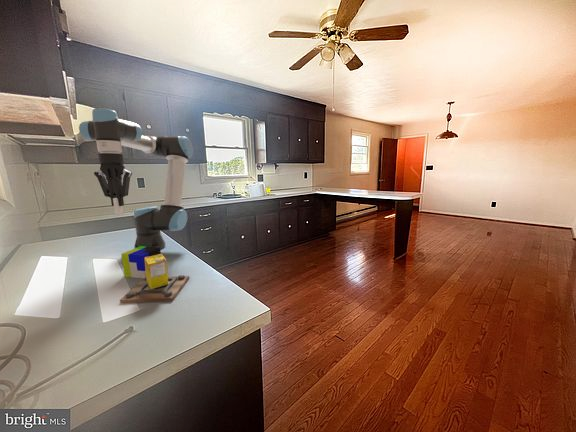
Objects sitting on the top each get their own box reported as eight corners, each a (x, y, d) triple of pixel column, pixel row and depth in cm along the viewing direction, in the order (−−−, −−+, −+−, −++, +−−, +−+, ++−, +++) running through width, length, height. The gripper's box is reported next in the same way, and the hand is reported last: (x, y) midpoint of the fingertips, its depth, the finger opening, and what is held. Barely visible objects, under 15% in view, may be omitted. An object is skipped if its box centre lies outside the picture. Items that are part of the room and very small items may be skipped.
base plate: (146, 279, 96) (145, 274, 96) (189, 278, 98) (188, 273, 97) (120, 303, 80) (119, 297, 79) (172, 301, 81) (171, 295, 80)
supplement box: (163, 278, 92) (161, 253, 89) (168, 286, 88) (167, 259, 85) (146, 283, 88) (143, 257, 85) (150, 291, 84) (148, 264, 81)
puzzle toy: (145, 278, 98) (142, 255, 96) (124, 276, 100) (121, 253, 98) (162, 268, 107) (160, 247, 105) (143, 266, 109) (140, 246, 107)
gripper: (84, 152, 86) (95, 216, 91) (122, 152, 87) (131, 215, 92) (99, 153, 93) (108, 212, 98) (134, 153, 94) (141, 212, 99)
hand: (119, 214), depth 95 cm, fingers closed
